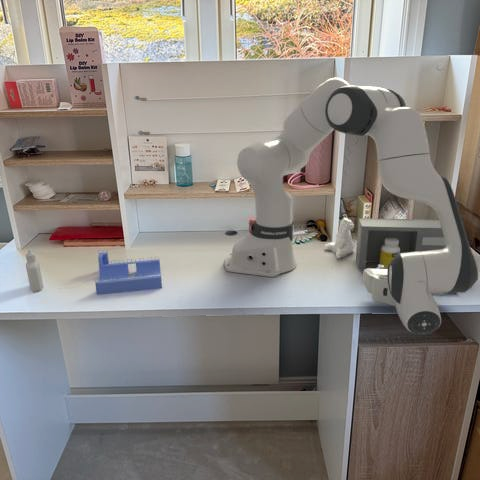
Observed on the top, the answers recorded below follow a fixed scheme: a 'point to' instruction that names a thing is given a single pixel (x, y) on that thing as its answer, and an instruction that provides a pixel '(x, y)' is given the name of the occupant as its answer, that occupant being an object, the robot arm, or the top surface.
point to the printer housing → (405, 230)
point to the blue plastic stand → (127, 276)
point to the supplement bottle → (389, 251)
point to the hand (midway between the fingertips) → (397, 267)
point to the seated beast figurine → (342, 240)
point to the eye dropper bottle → (33, 272)
